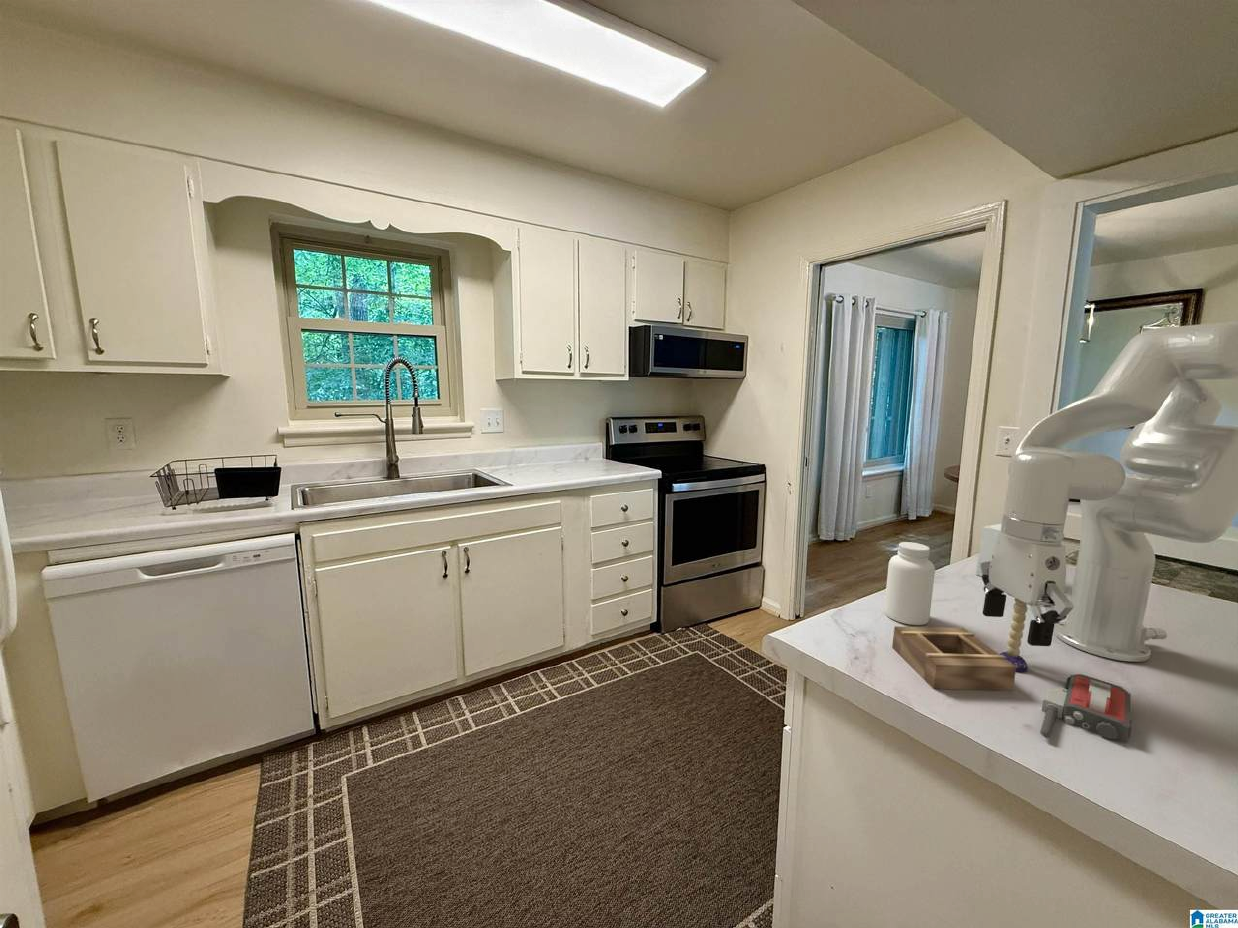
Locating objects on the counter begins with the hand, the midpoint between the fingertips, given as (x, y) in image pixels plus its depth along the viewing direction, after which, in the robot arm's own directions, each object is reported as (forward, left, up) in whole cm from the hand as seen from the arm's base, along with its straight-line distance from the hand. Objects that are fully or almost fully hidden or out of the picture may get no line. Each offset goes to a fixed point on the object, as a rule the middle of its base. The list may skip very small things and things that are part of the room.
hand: (1014, 629), depth 81 cm
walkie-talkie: (-1, +13, -7) cm, 15 cm away
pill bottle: (+8, -17, -7) cm, 20 cm away
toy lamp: (0, 0, -7) cm, 7 cm away
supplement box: (-28, -39, -7) cm, 48 cm away
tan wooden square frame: (+11, +1, -7) cm, 12 cm away
